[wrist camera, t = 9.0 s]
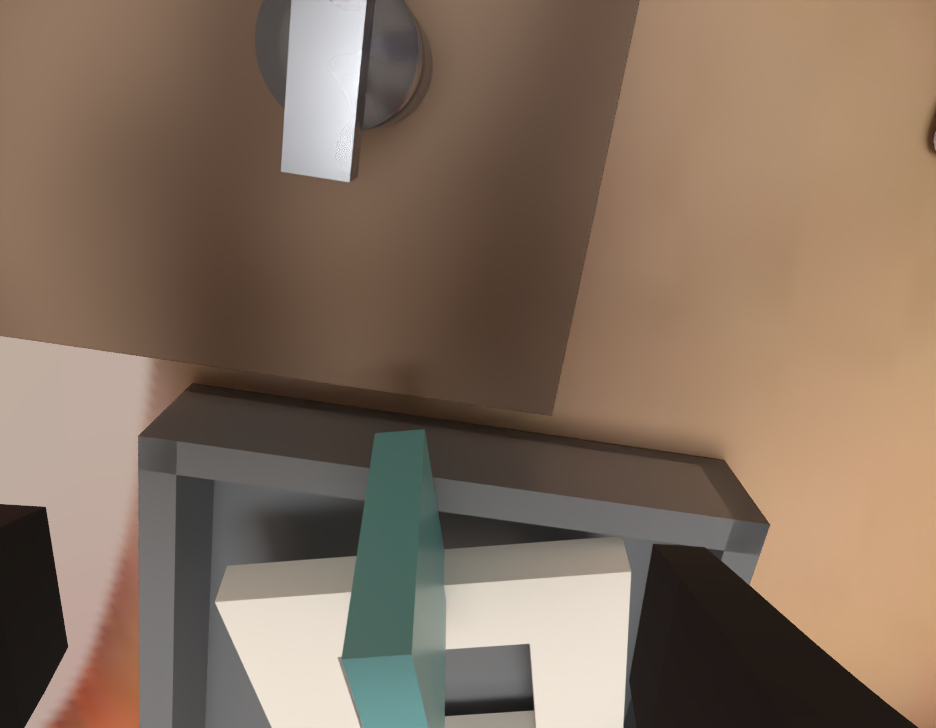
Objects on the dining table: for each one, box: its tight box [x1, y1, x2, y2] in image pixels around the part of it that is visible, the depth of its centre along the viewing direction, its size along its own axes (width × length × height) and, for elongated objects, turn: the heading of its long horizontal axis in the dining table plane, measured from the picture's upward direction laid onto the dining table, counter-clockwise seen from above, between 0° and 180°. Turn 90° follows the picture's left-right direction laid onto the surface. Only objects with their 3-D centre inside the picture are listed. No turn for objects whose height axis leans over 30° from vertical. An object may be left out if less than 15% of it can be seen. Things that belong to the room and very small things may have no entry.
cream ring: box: [215, 429, 631, 728], centre depth 16 cm, size 12×9×5 cm
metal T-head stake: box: [255, 0, 433, 182], centre depth 12 cm, size 2×4×5 cm, turn 171°
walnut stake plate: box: [0, 0, 639, 416], centre depth 15 cm, size 14×12×1 cm
